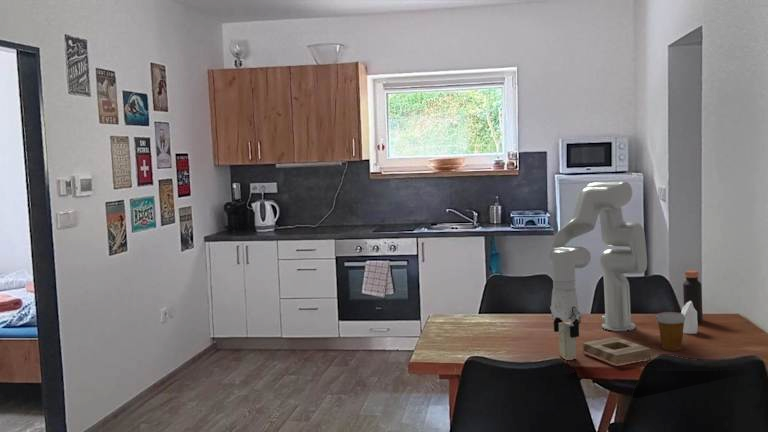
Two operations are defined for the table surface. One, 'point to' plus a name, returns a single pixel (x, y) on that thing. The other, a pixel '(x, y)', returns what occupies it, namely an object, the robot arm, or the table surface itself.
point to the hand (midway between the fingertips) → (566, 334)
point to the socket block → (617, 350)
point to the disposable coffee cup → (671, 330)
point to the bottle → (693, 292)
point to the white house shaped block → (689, 318)
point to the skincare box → (566, 340)
